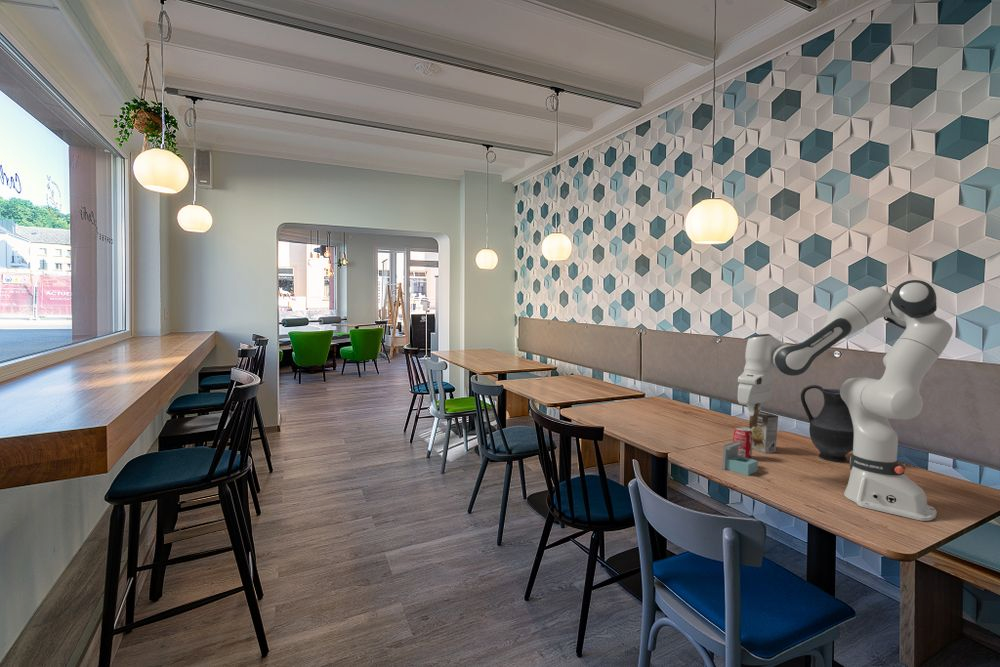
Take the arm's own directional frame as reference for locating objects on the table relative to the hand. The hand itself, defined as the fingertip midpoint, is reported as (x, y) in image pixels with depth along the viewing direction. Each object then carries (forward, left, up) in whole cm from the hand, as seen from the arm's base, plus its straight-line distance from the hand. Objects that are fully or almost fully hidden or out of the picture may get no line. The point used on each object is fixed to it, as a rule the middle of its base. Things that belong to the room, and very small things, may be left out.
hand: (754, 414), depth 173 cm
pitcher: (-11, -46, -22) cm, 52 cm away
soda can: (+10, -16, -22) cm, 29 cm away
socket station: (+3, 0, -22) cm, 22 cm away
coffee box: (+10, -35, -22) cm, 42 cm away
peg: (0, 0, -4) cm, 4 cm away
